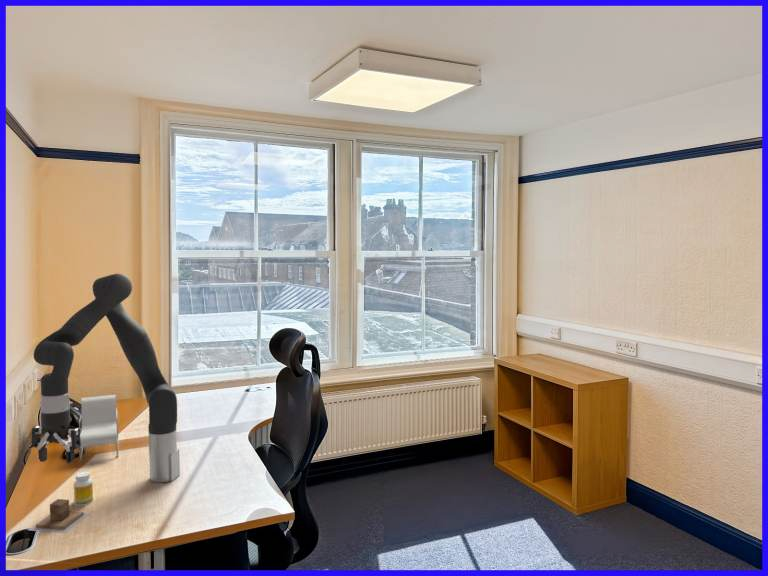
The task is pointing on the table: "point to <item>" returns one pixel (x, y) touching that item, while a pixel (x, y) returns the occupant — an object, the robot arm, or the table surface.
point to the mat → (60, 529)
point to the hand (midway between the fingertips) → (56, 461)
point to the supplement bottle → (83, 489)
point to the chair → (98, 422)
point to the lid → (59, 516)
